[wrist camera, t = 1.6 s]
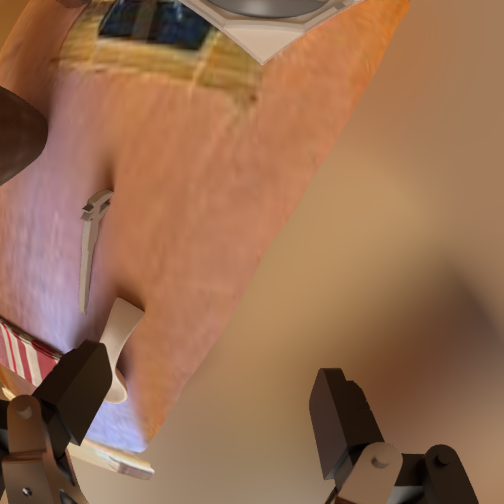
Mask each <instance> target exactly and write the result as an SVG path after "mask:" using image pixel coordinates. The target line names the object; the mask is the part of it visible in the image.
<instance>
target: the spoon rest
mask: <svg viewBox="0 0 504 504" xmlns="http://www.w3.org/2000/svg"><path fill="white" fill-rule="evenodd" d="M144 315H145V313H144V312H143V311H142V310H140V309H139V308H137V307H135V306H134V305H132V304H130V303H129V302H127V301H125V300H124V299H122V298H119V297H117V298H116V300H115V302H114V304H113V306H112V309H111V312H110V315H109V318H108V321H107V324H106V326H105V329H104V332H103V334H102V336H101V339H100V341H99V342H100V343H104V344H105V346H106V348H107V353H108V357H109V361H110V365H111V369H112V374H113V380H112V385H111V387H110V389H109V391H108V393H107V395H106V397H105V398H104V400H103V401H105V402H109V403H121V402H123V401H125V400H126V399H127V396H128V392H127V386H126V383H125V380H124V378H123V376H122V374H121V373H120V371H119V370H118V369H117V367H116V363H117V360H118V357H119V355H120V352H121V350H122V348H123V346H124V344H125V342H126V340H127V339H128V337H129V336H130V334H131V333H132V331H133V330H134V329H135V327H136V326H137V325H138V324H139V322H140V321H141V320H142V318H143V316H144Z"/></svg>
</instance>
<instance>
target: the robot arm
mask: <svg viewBox="0 0 504 504" xmlns="http://www.w3.org/2000/svg"><path fill="white" fill-rule="evenodd" d="M56 1H58V2H59V3H61V4H62V5H64V6H65V7H68V8H75V7H79V6H81V5H84V4H86V3H87V2H89V1H91V0H56ZM112 380H113V374H112V369H111V365H110V361H109V357H108V353H107V348H106V346H105V344H104V343H100V342H96V341H92V340H88V339H86V340H85V341H84V342H83V343H82V344H81V345H80V346H79V348H78V349H73V350H71V351H69V352H68V353H66V354H64V355H63V357H62V358H61V359H60V360H59V361H58V363H57V365H55V366H54V367H53V369H52V371H50V372H49V374H48V375H47V376H46V377H45V379H44V380H43V381H42V382H41V384H40V385H39V386H38V387H37V389H36V390H35V391H34V393H33V394H32V395H19V396H17V397H15V398H13V399H12V400H11V401H5V400H0V500H1V497H2V495H3V492H4V490H5V488H6V493H7V498H8V503H9V504H89V503H88V501H87V500H86V498H85V496H84V495H83V493H82V491H81V489H80V486H79V484H78V481H77V478H76V475H75V472H74V469H73V466H72V463H71V459H70V456H69V452H68V449H67V448H66V447H67V445H68V444H69V442H71V443H73V444H75V445H78V446H80V445H81V443H82V441H83V439H84V437H85V435H86V433H87V431H88V429H89V427H90V425H91V423H92V421H93V419H94V417H95V415H96V413H97V412H98V410H99V408H100V406H101V404H102V402H103V400H104V398H105V397H106V395H107V393H108V391H109V389H110V387H111V385H112ZM309 410H310V415H311V420H312V425H313V429H314V434H315V439H316V444H317V448H318V453H319V458H320V463H321V468H322V473H323V478H324V480H328V479H334V480H335V484H336V486H335V487H334V489H333V490H332V492H331V493H330V495H329V496H328V498H327V499H326V501H325V502H324V503H323V504H479V503H478V500H477V497H476V495H475V493H474V490H473V488H472V486H471V483H470V481H469V478H468V476H467V474H466V472H465V470H464V467H463V465H462V463H461V461H460V459H459V457H458V455H457V453H456V452H455V450H454V449H452V448H451V447H449V446H447V445H442V444H440V445H435V446H433V447H431V448H430V449H429V450H428V451H427V452H426V453H425V454H403V453H400V451H399V450H398V449H397V448H396V447H395V446H393V445H391V444H389V443H385V441H384V439H383V437H382V434H381V432H380V430H379V428H378V425H377V423H376V421H375V418H374V416H373V413H372V411H371V410H370V407H369V404H368V402H366V397H365V395H364V393H363V391H362V389H361V388H360V387H359V386H358V385H357V384H356V383H355V382H354V381H346V379H345V376H344V374H343V371H342V370H341V368H320V369H319V371H318V374H317V377H316V380H315V384H314V386H313V389H312V392H311V396H310V400H309Z"/></svg>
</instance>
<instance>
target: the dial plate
mask: <svg viewBox="0 0 504 504" xmlns="http://www.w3.org/2000/svg"><path fill="white" fill-rule="evenodd" d="M178 1H180V2H181V3H183V4H184V5H186V6H187V7H189V8H190V9H192V10H193V11H195V12H196V13H198V14H199V15H200V16H202V17H203V18H205V19H206V20H207V21H209V22H210V23H211V24H213V25H214V26H215V27H217V28H218V29H219V30H221V31H222V32H223V33H224V34H226V35H227V36H228V37H229V38H231V39H232V40H233V41H234V42H236V43H237V44H238V45H239V46H240V47H242V48H243V49H244V50H245V51H246V52H247V53H249V54H250V55H251V56H252V57H253V58H254V59H255V60H257V61H258V62H259V63H260V64H261V65H262V66H263V65H264V64H266V63H267V62H268V61H270V60H271V59H272V58H274V57H275V56H276V55H278V54H279V53H280V52H282V51H283V50H284V49H286V48H287V47H289V46H290V45H292V44H293V43H294V42H296V41H297V40H299V39H300V38H302V37H303V36H305V35H306V34H308V33H309V32H311V31H312V30H314V29H316V28H317V27H319V26H320V25H322V24H324V23H325V22H327V21H329V20H330V19H332V18H334V17H335V16H337V15H339V14H341V13H342V12H344V11H346V10H348V9H350V8H351V7H353V6H355V5H357V4H359V3H361V2H363V1H365V0H329V2H328V3H327V4H325V5H324V6H323V7H321V8H319V9H317V10H316V11H313V12H311V13H308V14H305V15H301V16H297V17H290V18H280V19H267V18H256V17H249V16H244V15H239V14H236V13H232V12H229V11H226V10H224V9H222V8H219V7H217V6H215V5H213V4H212V3H210V2H209V1H207V0H178Z"/></svg>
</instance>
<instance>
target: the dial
mask: <svg viewBox="0 0 504 504" xmlns="http://www.w3.org/2000/svg"><path fill="white" fill-rule="evenodd" d="M207 1H209V2H210V3H212V4H213V5H215V6H217V7H219V8H222V9H224V10H226V11H229V12H232V13H236V14H239V15H244V16H249V17H256V18H267V19H280V18H290V17H297V16H301V15H305V14H308V13H311V12H313V11H316V10H317V9H319V8H321V7H323V6H324V5H325V4H327V3H328V2H329V0H207Z"/></svg>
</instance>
